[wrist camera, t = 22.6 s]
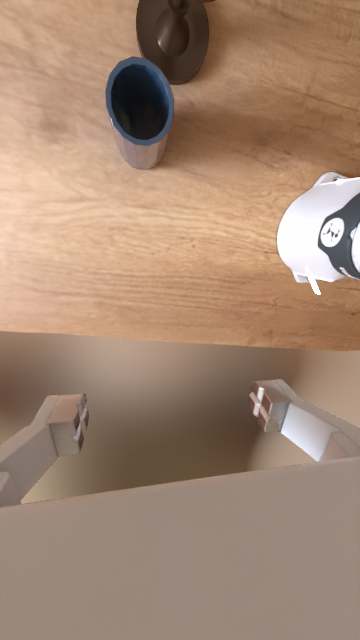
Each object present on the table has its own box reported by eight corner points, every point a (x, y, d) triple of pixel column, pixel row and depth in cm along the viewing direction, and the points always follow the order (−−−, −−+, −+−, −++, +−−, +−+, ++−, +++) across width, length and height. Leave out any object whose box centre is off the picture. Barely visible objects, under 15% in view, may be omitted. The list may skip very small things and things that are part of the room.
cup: (164, 116, 31) (175, 63, 21) (163, 171, 33) (172, 148, 23) (115, 110, 30) (102, 50, 20) (119, 168, 32) (108, 141, 22)
